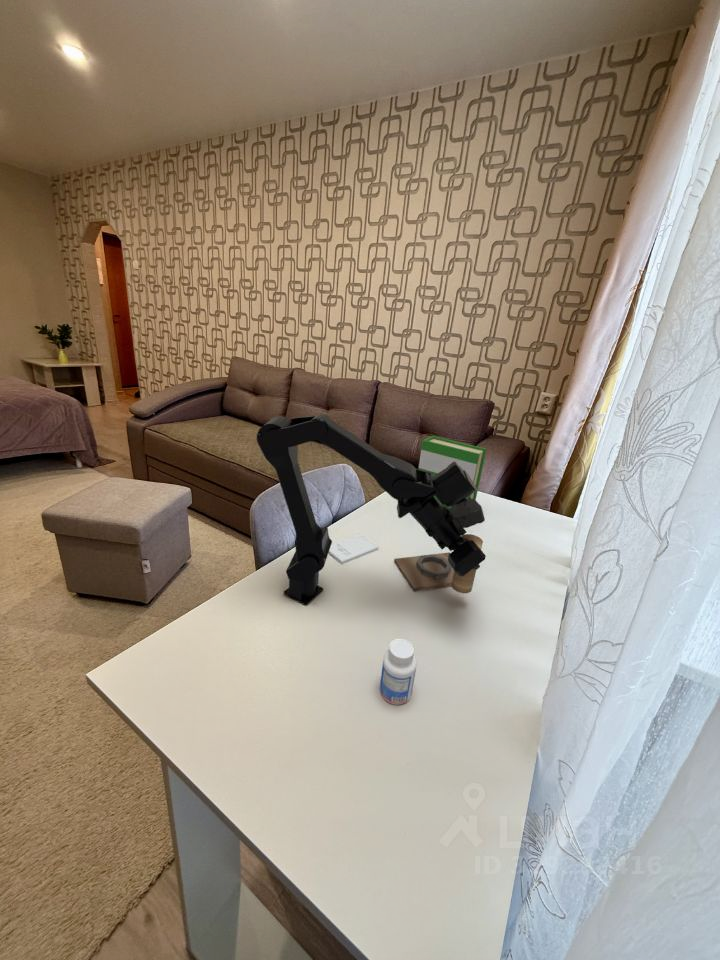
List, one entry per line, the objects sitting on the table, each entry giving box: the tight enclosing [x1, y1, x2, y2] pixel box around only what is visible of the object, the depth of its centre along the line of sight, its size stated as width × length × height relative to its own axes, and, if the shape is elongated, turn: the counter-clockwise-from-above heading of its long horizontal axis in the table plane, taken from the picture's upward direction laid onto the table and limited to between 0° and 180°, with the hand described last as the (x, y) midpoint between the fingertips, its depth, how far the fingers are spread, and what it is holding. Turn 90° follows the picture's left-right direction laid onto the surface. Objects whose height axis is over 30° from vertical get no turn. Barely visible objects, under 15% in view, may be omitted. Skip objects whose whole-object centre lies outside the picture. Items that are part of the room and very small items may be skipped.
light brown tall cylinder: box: [450, 533, 484, 594], centre depth 84 cm, size 4×4×12 cm
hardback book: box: [418, 435, 488, 509], centre depth 124 cm, size 18×7×24 cm, turn 57°
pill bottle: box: [379, 638, 418, 705], centre depth 64 cm, size 6×5×10 cm
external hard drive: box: [328, 533, 380, 565], centre depth 105 cm, size 2×8×12 cm
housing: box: [393, 551, 454, 593], centre depth 98 cm, size 16×12×2 cm
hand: (473, 561), depth 84 cm, fingers closed on light brown tall cylinder, 4 cm apart
